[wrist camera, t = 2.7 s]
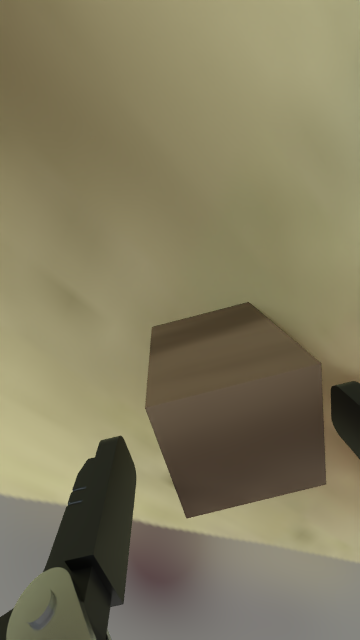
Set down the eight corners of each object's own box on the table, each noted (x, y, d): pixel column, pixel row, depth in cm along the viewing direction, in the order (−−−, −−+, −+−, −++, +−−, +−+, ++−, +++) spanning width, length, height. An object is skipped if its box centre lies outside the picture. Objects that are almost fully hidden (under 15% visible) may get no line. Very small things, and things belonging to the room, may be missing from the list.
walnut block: (151, 326, 12) (145, 407, 7) (248, 301, 12) (321, 363, 7) (176, 403, 14) (186, 518, 9) (260, 382, 14) (326, 484, 9)
